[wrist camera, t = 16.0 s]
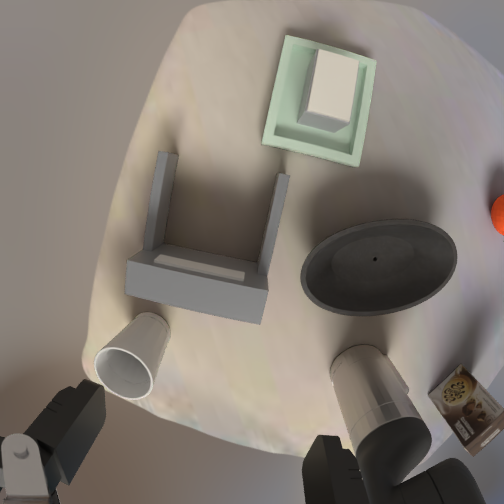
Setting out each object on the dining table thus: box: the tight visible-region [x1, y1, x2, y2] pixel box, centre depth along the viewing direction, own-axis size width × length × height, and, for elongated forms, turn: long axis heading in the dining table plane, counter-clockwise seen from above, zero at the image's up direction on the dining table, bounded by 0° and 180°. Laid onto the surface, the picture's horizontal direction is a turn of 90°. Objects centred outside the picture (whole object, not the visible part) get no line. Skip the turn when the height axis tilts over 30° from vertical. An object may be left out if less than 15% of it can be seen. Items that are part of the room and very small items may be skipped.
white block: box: [297, 49, 360, 133], centre depth 32 cm, size 5×9×8 cm, turn 169°
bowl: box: [301, 219, 457, 316], centre depth 38 cm, size 12×22×6 cm, turn 96°
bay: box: [125, 151, 290, 325], centre depth 35 cm, size 15×16×10 cm
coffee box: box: [428, 364, 504, 457], centre depth 39 cm, size 9×6×16 cm
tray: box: [261, 35, 376, 167], centre depth 35 cm, size 12×15×2 cm
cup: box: [94, 312, 171, 400], centre depth 38 cm, size 8×8×12 cm
